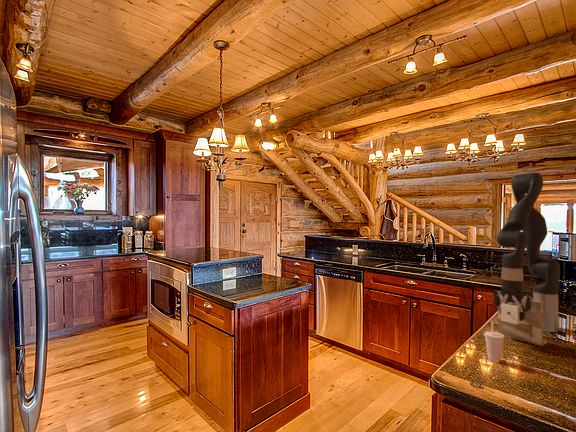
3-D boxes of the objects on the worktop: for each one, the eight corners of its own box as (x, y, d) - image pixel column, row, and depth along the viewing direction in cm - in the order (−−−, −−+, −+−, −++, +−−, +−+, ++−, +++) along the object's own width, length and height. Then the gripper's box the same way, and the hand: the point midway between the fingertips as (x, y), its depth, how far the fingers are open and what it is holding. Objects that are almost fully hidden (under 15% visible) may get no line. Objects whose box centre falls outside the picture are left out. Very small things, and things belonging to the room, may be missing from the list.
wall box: (509, 317, 140) (509, 301, 140) (525, 320, 135) (525, 304, 135) (500, 320, 136) (500, 304, 136) (516, 324, 131) (516, 307, 131)
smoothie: (485, 355, 124) (485, 318, 124) (505, 359, 120) (505, 322, 120) (482, 360, 119) (482, 323, 119) (503, 365, 115) (503, 326, 115)
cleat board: (504, 332, 149) (504, 293, 148) (546, 343, 135) (546, 300, 135) (495, 336, 144) (495, 295, 144) (538, 348, 130) (538, 303, 130)
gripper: (536, 280, 131) (536, 321, 131) (497, 274, 143) (497, 312, 143) (528, 282, 127) (528, 324, 127) (489, 276, 139) (489, 315, 139)
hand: (512, 318), depth 135 cm, fingers closed on wall box, 6 cm apart
